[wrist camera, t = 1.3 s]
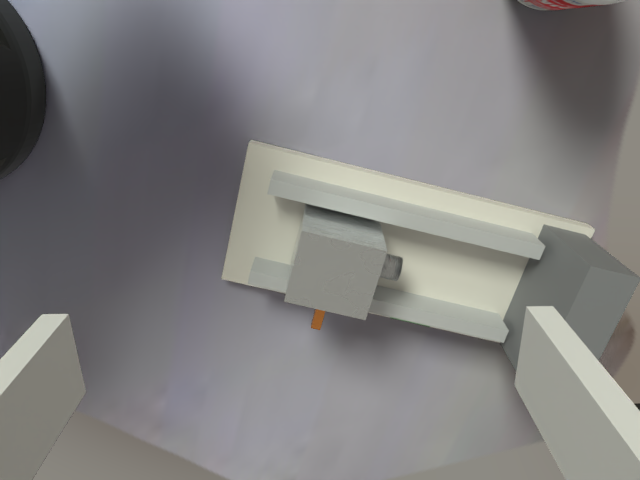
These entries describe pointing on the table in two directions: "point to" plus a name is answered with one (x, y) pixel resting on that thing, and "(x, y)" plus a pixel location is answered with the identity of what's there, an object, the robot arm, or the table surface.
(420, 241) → the base
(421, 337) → the table surface
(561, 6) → the pill bottle
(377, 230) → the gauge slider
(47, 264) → the table surface
